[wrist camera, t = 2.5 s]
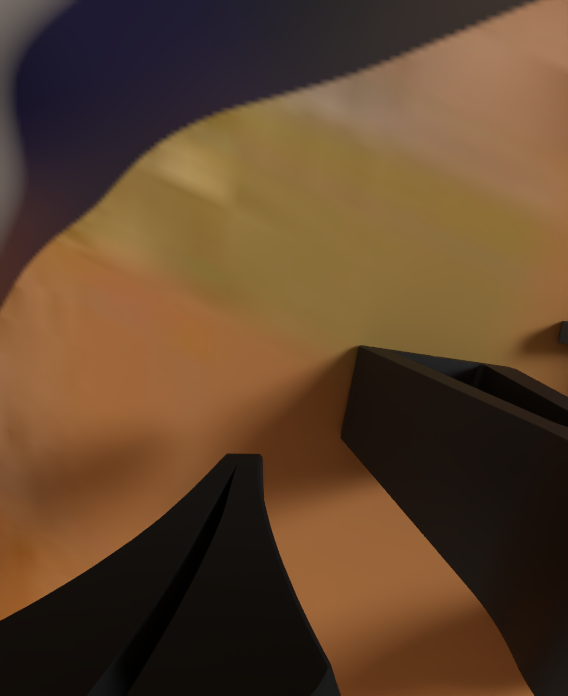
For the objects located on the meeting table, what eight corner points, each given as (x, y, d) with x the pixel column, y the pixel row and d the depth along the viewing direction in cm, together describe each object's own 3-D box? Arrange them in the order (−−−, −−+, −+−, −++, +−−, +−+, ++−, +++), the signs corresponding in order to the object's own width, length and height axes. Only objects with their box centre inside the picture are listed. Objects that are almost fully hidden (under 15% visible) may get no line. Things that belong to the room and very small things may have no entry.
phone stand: (339, 434, 17) (432, 761, 5) (358, 343, 16) (544, 508, 4) (479, 456, 17) (903, 847, 5) (510, 367, 15) (1192, 614, 4)
